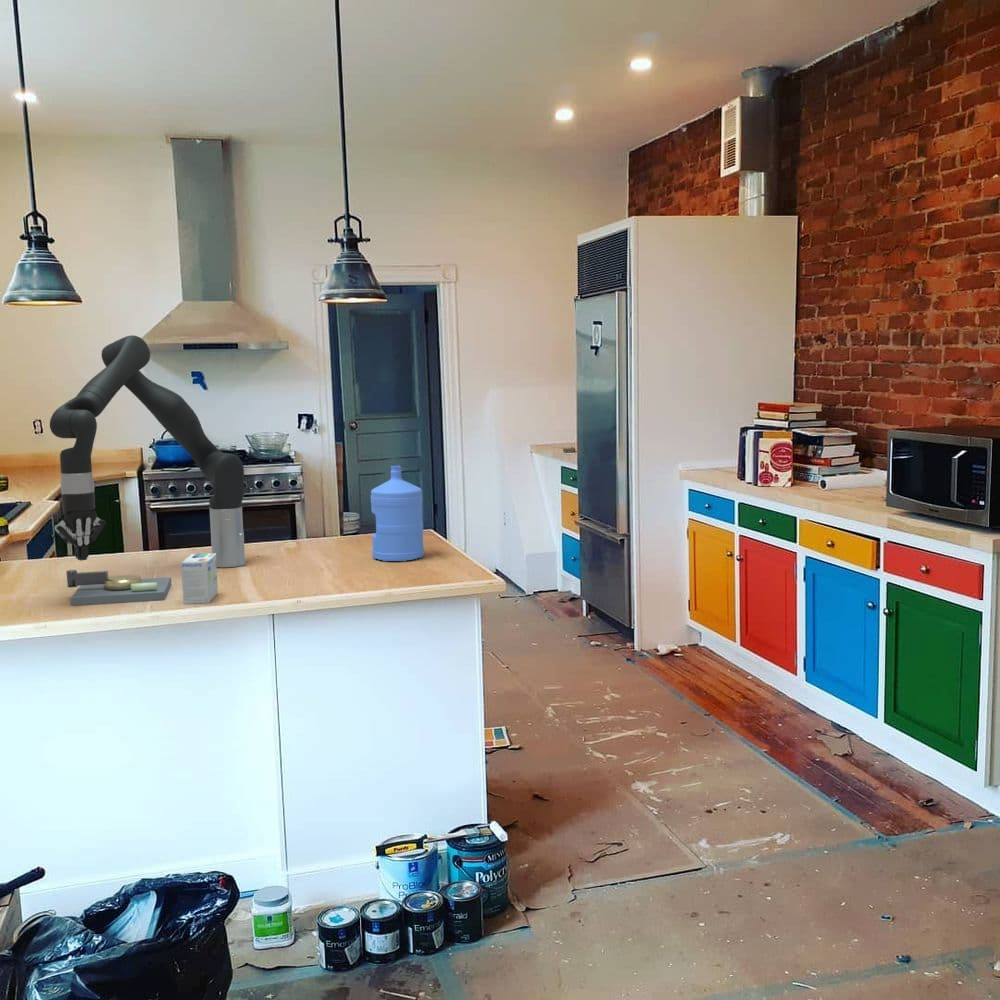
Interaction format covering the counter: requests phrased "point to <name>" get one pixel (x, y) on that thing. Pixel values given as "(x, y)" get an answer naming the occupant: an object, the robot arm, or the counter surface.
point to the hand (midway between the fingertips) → (82, 559)
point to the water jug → (397, 519)
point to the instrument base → (122, 592)
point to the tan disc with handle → (101, 579)
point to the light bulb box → (199, 578)
